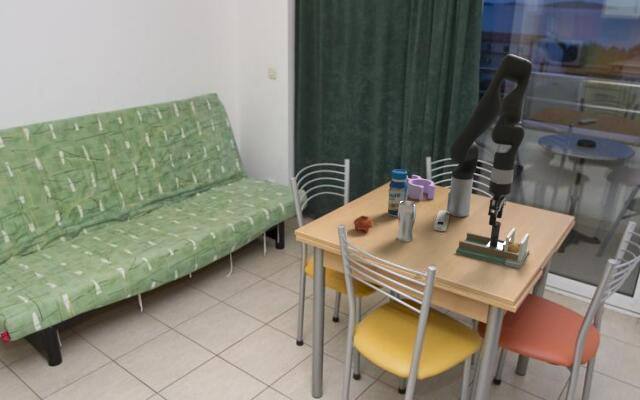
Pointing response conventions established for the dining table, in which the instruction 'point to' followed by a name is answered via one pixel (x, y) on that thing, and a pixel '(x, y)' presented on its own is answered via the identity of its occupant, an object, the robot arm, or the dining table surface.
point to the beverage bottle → (397, 191)
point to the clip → (420, 188)
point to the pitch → (478, 249)
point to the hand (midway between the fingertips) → (495, 221)
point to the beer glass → (406, 220)
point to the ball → (513, 248)
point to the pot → (363, 223)
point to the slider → (496, 238)
